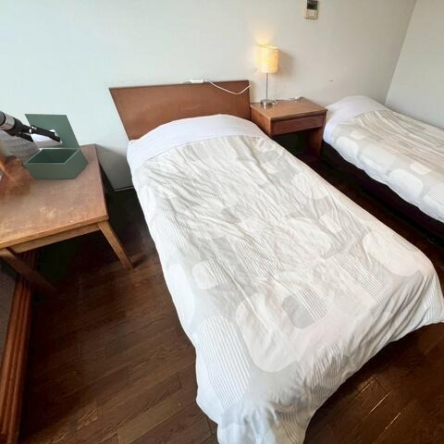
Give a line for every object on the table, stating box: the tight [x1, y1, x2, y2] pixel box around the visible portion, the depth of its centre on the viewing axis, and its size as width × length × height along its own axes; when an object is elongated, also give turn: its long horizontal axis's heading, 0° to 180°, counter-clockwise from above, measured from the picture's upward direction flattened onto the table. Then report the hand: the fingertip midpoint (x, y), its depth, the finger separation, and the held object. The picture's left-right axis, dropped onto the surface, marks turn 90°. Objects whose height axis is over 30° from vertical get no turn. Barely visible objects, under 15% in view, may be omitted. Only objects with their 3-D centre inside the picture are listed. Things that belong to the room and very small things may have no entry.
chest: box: [22, 148, 89, 181], centre depth 141 cm, size 18×20×10 cm
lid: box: [24, 113, 81, 149], centre depth 141 cm, size 18×20×5 cm
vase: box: [0, 130, 41, 164], centre depth 139 cm, size 13×13×28 cm
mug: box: [31, 130, 62, 149], centre depth 133 cm, size 12×10×8 cm
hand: (46, 139), depth 134 cm, fingers closed on mug, 12 cm apart
